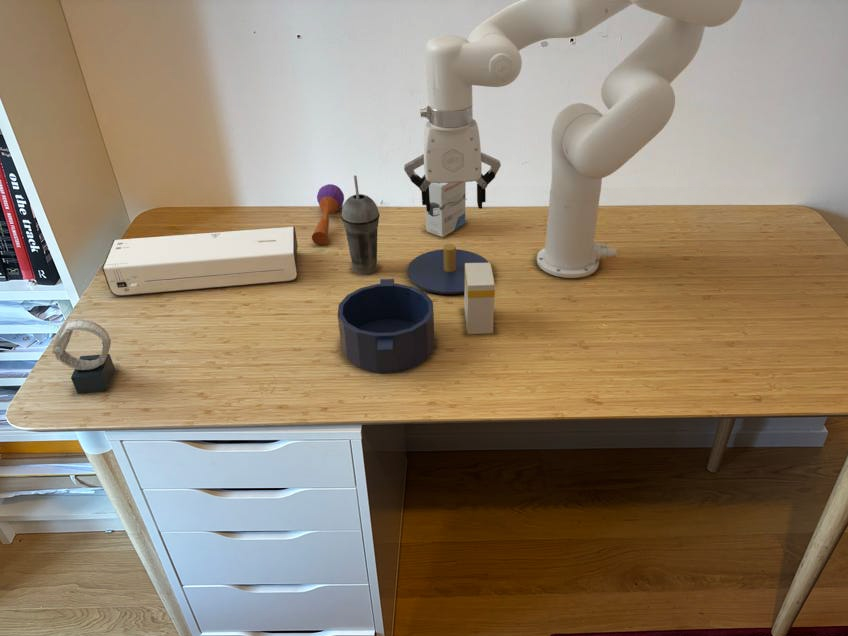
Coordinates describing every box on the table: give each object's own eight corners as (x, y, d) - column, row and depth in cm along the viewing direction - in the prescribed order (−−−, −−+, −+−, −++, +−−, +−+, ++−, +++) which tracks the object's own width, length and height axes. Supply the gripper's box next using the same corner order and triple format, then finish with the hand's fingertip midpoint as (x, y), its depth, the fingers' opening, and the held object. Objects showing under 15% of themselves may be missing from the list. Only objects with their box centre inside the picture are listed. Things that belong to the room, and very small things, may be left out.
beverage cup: (386, 261, 145) (380, 166, 133) (379, 279, 139) (371, 182, 127) (351, 258, 145) (342, 164, 133) (342, 276, 140) (331, 180, 128)
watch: (73, 372, 115) (49, 315, 108) (126, 368, 116) (106, 311, 109) (63, 394, 110) (38, 337, 103) (118, 390, 111) (97, 332, 105)
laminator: (298, 253, 147) (294, 225, 143) (299, 283, 137) (294, 255, 133) (122, 267, 141) (113, 239, 137) (110, 300, 131) (100, 271, 128)
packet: (488, 309, 131) (490, 262, 125) (493, 333, 125) (495, 284, 119) (464, 310, 131) (464, 263, 125) (467, 334, 125) (467, 285, 119)
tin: (431, 309, 131) (431, 274, 127) (436, 381, 115) (435, 343, 110) (346, 312, 130) (342, 276, 125) (338, 385, 113) (333, 347, 109)
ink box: (448, 217, 161) (448, 167, 154) (466, 223, 159) (466, 173, 152) (424, 231, 155) (423, 180, 148) (442, 238, 153) (442, 186, 146)
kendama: (301, 228, 147) (315, 181, 162) (310, 252, 151) (323, 204, 166) (329, 224, 146) (341, 177, 161) (338, 248, 150) (348, 200, 165)
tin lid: (487, 252, 149) (488, 226, 145) (496, 295, 135) (497, 267, 132) (407, 254, 147) (406, 227, 144) (407, 298, 134) (406, 269, 130)
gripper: (400, 124, 119) (407, 218, 129) (503, 120, 120) (502, 213, 130) (400, 109, 125) (407, 200, 135) (498, 105, 126) (498, 196, 136)
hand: (454, 206), depth 133 cm, fingers open, 9 cm apart
